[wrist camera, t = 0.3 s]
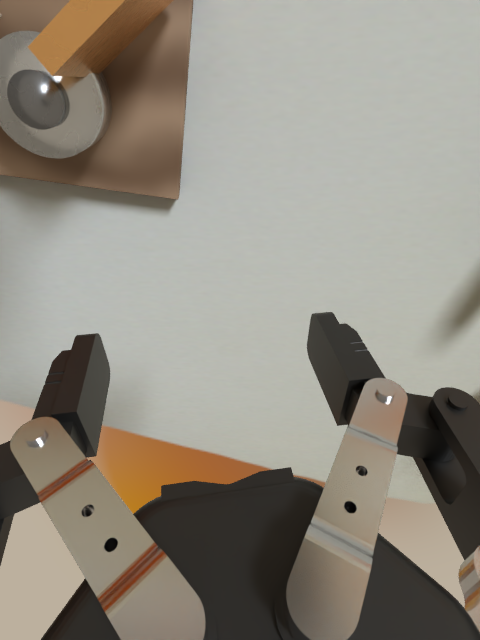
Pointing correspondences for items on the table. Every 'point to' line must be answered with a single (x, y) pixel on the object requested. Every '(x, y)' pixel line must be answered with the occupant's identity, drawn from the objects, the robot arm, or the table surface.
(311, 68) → the table surface
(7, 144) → the base
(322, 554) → the robot arm
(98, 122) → the lock handle
